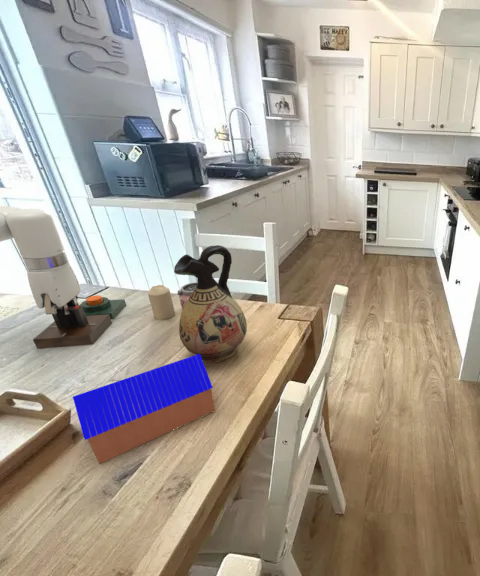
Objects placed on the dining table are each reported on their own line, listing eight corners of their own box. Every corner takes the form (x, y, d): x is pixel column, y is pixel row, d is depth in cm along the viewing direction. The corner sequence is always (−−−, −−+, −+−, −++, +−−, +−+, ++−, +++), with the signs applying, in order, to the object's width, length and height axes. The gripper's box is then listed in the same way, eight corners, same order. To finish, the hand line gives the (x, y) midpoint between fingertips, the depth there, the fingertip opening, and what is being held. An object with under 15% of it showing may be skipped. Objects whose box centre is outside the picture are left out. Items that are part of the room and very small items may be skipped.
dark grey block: (57, 328, 86) (49, 310, 84) (62, 324, 88) (54, 306, 86) (84, 326, 88) (77, 308, 86) (88, 323, 90) (81, 304, 87)
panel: (37, 349, 83) (32, 339, 82) (62, 326, 93) (58, 316, 91) (92, 344, 86) (89, 334, 85) (112, 322, 96) (109, 313, 94)
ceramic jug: (199, 380, 77) (172, 264, 64) (177, 350, 86) (150, 243, 73) (265, 352, 88) (254, 248, 76) (240, 328, 98) (226, 232, 85)
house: (217, 411, 69) (208, 368, 64) (97, 466, 57) (74, 418, 52) (200, 380, 77) (191, 340, 72) (91, 422, 65) (71, 377, 60)
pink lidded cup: (181, 318, 100) (172, 283, 95) (210, 311, 105) (204, 277, 100) (188, 332, 94) (180, 295, 89) (219, 323, 99) (213, 288, 94)
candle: (166, 321, 98) (158, 291, 94) (150, 318, 99) (141, 289, 95) (179, 312, 103) (172, 284, 99) (163, 310, 104) (156, 281, 100)
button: (85, 306, 96) (83, 301, 95) (91, 300, 99) (89, 295, 99) (99, 305, 97) (97, 300, 96) (105, 300, 100) (103, 295, 99)
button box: (69, 322, 94) (64, 310, 93) (85, 307, 102) (81, 296, 100) (113, 319, 97) (109, 308, 96) (126, 305, 105) (123, 294, 103)
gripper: (48, 250, 86) (72, 310, 94) (2, 274, 72) (35, 342, 80) (82, 249, 88) (103, 308, 96) (44, 272, 74) (72, 339, 82)
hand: (72, 323), depth 88 cm, fingers closed on dark grey block, 2 cm apart
